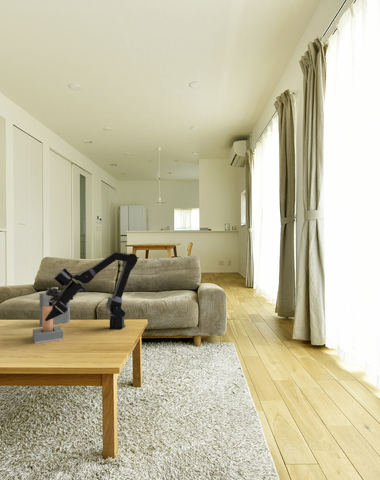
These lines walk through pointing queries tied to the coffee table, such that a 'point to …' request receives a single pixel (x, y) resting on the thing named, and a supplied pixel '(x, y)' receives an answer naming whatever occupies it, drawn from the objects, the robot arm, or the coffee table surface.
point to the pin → (46, 325)
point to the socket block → (47, 335)
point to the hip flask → (59, 319)
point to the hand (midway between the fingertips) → (44, 318)
